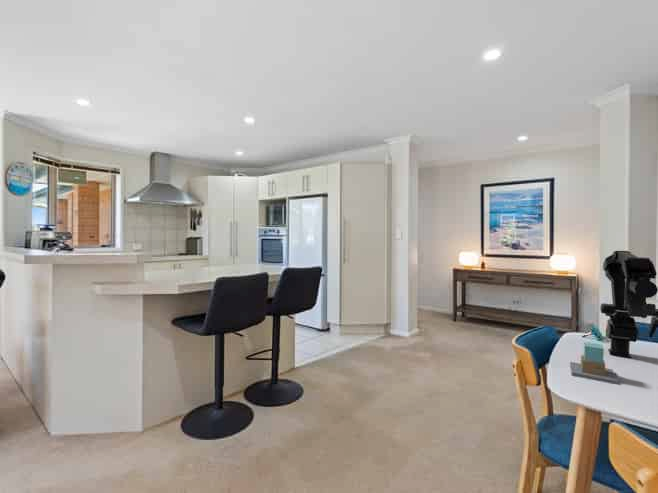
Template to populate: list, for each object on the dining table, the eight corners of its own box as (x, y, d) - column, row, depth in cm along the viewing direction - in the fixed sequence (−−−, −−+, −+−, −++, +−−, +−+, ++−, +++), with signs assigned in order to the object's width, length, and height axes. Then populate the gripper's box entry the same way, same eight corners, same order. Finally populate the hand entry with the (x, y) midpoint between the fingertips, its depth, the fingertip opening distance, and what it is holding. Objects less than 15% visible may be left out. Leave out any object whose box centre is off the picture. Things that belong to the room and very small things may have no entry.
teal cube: (583, 355, 120) (583, 341, 120) (601, 358, 118) (601, 344, 117) (584, 360, 116) (585, 345, 116) (603, 363, 114) (603, 348, 113)
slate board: (570, 364, 125) (570, 361, 125) (612, 372, 119) (612, 369, 119) (571, 375, 116) (571, 372, 116) (617, 384, 109) (617, 381, 109)
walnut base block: (580, 365, 121) (581, 354, 121) (602, 369, 118) (602, 358, 118) (582, 371, 116) (582, 360, 116) (604, 376, 113) (605, 364, 113)
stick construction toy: (601, 338, 149) (591, 321, 153) (585, 343, 153) (574, 327, 157) (608, 340, 156) (598, 324, 160) (592, 345, 160) (582, 330, 164)
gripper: (604, 293, 120) (601, 336, 121) (678, 299, 109) (675, 347, 110) (601, 288, 129) (599, 328, 130) (669, 293, 118) (666, 337, 119)
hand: (632, 335), depth 122 cm, fingers open, 9 cm apart
